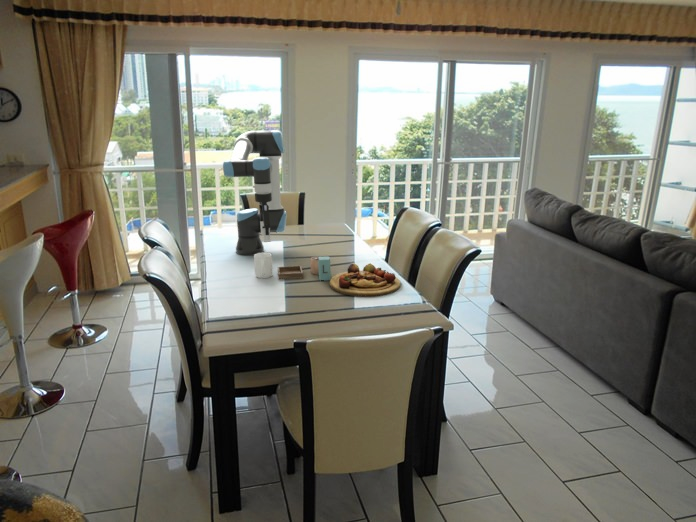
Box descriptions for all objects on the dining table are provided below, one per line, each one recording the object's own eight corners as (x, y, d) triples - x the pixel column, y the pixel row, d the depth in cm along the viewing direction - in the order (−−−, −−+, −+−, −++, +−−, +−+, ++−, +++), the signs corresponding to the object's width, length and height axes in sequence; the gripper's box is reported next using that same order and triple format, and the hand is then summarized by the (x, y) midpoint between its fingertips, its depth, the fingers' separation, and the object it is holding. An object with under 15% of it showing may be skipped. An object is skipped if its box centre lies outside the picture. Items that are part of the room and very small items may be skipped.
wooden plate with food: (349, 303, 217) (350, 284, 214) (318, 280, 244) (318, 263, 241) (414, 291, 231) (415, 273, 229) (377, 271, 258) (378, 254, 256)
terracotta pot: (310, 270, 258) (309, 256, 256) (324, 269, 259) (324, 255, 257) (311, 274, 251) (311, 260, 249) (326, 274, 252) (325, 259, 250)
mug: (272, 280, 244) (271, 259, 241) (254, 281, 243) (252, 260, 240) (273, 272, 255) (271, 252, 252) (255, 273, 254) (254, 252, 251)
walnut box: (277, 271, 256) (277, 267, 255) (301, 270, 258) (301, 265, 257) (278, 279, 245) (278, 274, 245) (303, 277, 247) (303, 272, 246)
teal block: (318, 277, 248) (318, 256, 245) (329, 276, 249) (328, 256, 246) (320, 280, 243) (319, 260, 240) (330, 280, 244) (330, 259, 241)
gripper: (252, 188, 249) (254, 232, 255) (257, 197, 225) (260, 245, 232) (268, 188, 250) (270, 231, 257) (275, 196, 227) (277, 244, 233)
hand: (265, 238), depth 244 cm, fingers open, 13 cm apart
